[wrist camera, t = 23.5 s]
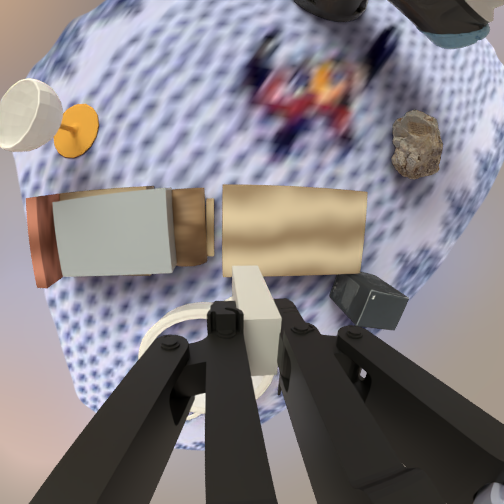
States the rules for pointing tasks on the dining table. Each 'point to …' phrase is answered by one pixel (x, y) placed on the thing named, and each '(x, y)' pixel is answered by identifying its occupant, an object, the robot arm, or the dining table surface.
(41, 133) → the cup
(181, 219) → the roller
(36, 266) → the track
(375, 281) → the box
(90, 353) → the dining table surface
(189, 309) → the cream oval ring
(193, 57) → the dining table surface
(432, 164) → the rock
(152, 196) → the slab
